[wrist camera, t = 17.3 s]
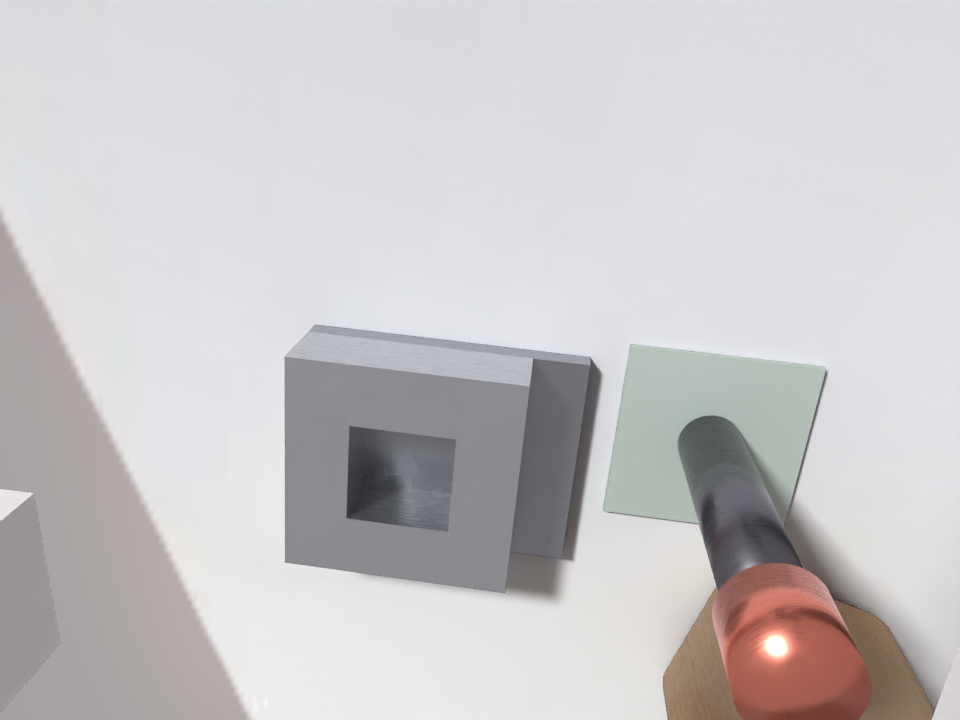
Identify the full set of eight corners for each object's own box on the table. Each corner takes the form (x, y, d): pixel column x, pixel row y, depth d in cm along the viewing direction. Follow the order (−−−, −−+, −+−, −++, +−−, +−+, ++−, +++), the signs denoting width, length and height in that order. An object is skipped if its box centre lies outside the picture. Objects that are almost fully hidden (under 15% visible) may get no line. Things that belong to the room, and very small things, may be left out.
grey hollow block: (315, 324, 43) (284, 356, 38) (590, 357, 42) (592, 394, 37) (312, 513, 47) (285, 562, 43) (561, 546, 46) (561, 600, 42)
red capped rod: (661, 474, 44) (720, 732, 27) (675, 402, 42) (747, 628, 25) (742, 484, 43) (852, 751, 27) (759, 412, 42) (888, 647, 25)
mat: (630, 344, 42) (630, 346, 41) (823, 366, 41) (826, 369, 41) (603, 507, 45) (603, 511, 45) (780, 530, 45) (782, 534, 44)
